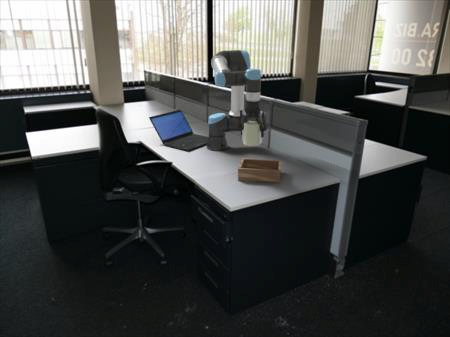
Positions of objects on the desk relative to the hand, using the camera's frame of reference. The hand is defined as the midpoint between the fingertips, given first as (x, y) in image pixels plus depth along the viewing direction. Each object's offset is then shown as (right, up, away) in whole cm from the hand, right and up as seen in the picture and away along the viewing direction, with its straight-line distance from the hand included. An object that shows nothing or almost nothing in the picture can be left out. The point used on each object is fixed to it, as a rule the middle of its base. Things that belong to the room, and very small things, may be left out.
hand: (252, 141), depth 188 cm
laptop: (-44, +5, +70) cm, 83 cm away
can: (0, -1, 0) cm, 1 cm away
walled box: (+5, -19, +7) cm, 20 cm away
